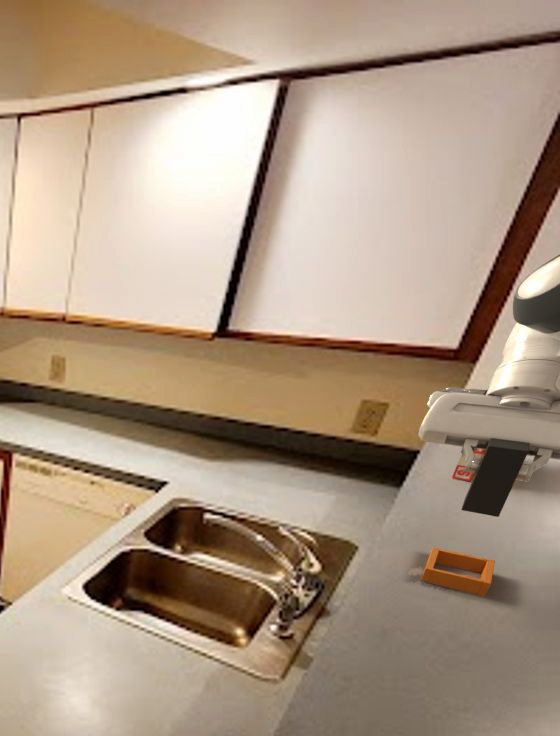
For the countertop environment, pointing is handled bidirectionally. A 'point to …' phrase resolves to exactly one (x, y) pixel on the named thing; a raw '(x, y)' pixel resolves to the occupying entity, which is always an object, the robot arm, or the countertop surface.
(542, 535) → the countertop surface
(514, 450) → the black rectangular block
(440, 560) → the orange rectangular frame
